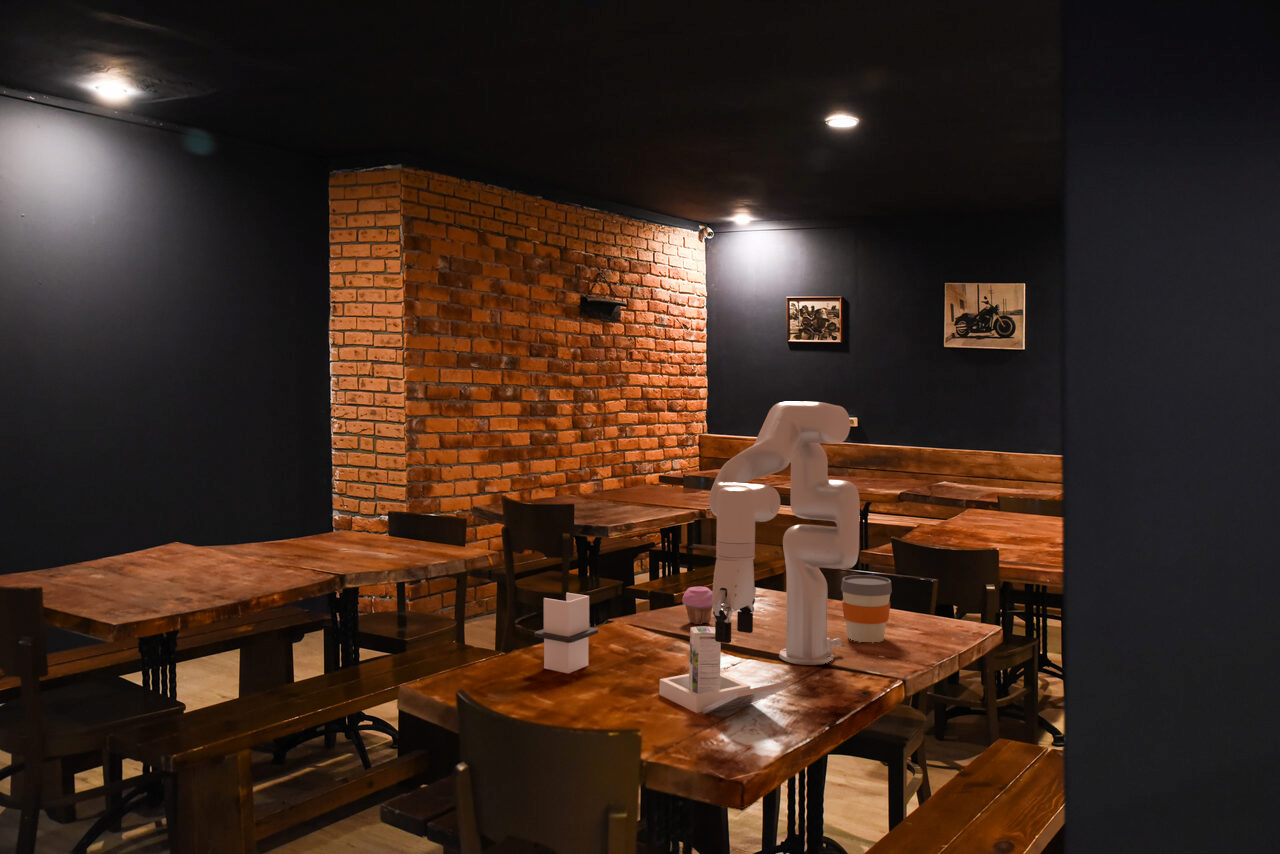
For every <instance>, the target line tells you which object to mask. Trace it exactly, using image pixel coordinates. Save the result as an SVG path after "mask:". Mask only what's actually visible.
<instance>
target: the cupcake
mask: <svg viewBox="0 0 1280 854" xmlns="http://www.w3.org/2000/svg"><path fill="white" fill-rule="evenodd" d="M712 593H713V590H711V589H710V588H709V587H706V586H690V587H688V588H687V589H686V591H685V592H684V593H683V596H682V599H681V600H682V604H683V605H684V606H685V609H686V612H687V617H688V620H689V622H690V623H691V622H692V623H691V624H693V623H694V624H693V625H696V624H699V625H702V624H701V623H707V624H710V622H711V619H712V610H713V607H712Z"/></svg>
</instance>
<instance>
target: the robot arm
mask: <svg viewBox="0 0 1280 854" xmlns="http://www.w3.org/2000/svg"><path fill="white" fill-rule="evenodd" d="M850 430H851V419H850V415H849V413H848V412H847V410H846V409H845V408H844V407H843V406H841V405H837V404H836V405H835V404H833V403H832V404H831V403H827V402H820V401H791V400H790V401H782V402H777V403H776V404H774V405H772V407H771V408H770V409H769V411H768V413H767V416H766V418H765V420H764V422H763V424H762V427H761V428H760V431H759V433H758V435H757V437H756V439H755V442H754V444H753V445H751V446H749V447H748V448H746V449H744V450H742V451H741V452H739V453H738V454H736V455H735V456H733V457H732V458H730V459H729V460H727V461H726V462H725V463H724V464H723V465H722V466H721V468H720V470H719V472H718V473H717V476H716V477H715V479H714V482H713V484H712V487H711V490H710V493H709V497H708V504H709V510H710V511H711V513H712V514H713V515H714V516H716V544H715V545H716V548H715V549H716V553H715V557H716V560H715V565H714V571H713V582H712V592H713V593H712V610H713V612H712V614H713V619H714V623H715V626H714V627H715V641H717V642H721V643H722V644H723V643H724V644H730V643H731V642H732V622H731V621H730V620H731V618H732V615H733V612H737V617H736V618H737V621H736V622H737V623H736V624H737V628H736V629H737V632H738V633H745V634H752V633H753V632H754V631H753V630H754V611H755V606H754V605H755V602H756V599H755V596H756V593H757V588H756V587H755V567H754V560H755V559H756V557H755V555H756V551H755V550H756V522H762V523H764V522H769V521H771V520H772V519H774V518H775V517H776V516H777V514H778V513H779V511H780V508H781V496H780V493H779V492H778V490H777V489H776V488H775V487H774V486H771V485H769V484H762V483H750V481H753V480H755V479H759V478H764V477H766V476H771V475H774V474H776V473H778V472H782V471H784V470H785V469H786V468H787V467H788V466H789V465H790V493H789V494H790V499H789V500H790V508H791V512H792V514H793V515H794V516H795V517H797V518H800V519H805V520H816V521H817V520H818V521H826V522H827V521H829V522H834V523H835V524H836V526H828V525H819V524H818V525H817V524H796V525H793V526H790V527H788V528H787V530H785V532H784V535H783V537H782V546H783V547H782V548H783V555H784V561H785V569H786V572H785V573H786V600H785V601H786V603H785V604H786V607H785V609H786V613H785V614H786V616H785V619H786V620H785V621H786V622H785V623H786V624H785V628H786V629H785V648H783V649H781V650H780V651H779V655H778V657H779V659H781V660H782V661H784V662H786V663H789V664H794V665H801V666H820V665H825V663H826V664H828V663H827V662H829V661H831V660H832V661H833V660H834V653H833V652H831V649H833V648H837V647H838V648H839V647H841V646H842V645H843V640H842V639H841V638H840V637H836V638H832V639H831V638H830V637H828V588H829V587H828V583H827V579H826V578H825V576H824V574H823V573H822V571H821V570H820V568H829V569H838V570H839V569H841V570H842V569H843V570H848V569H851V568H853V567H854V566H855V565H856V564H857V562H858V558H859V551H860V519H861V518H860V517H861V516H860V514H861V511H860V510H861V508H860V507H861V506H860V505H861V502H860V495H859V494H860V493H859V490H858V488H857V486H856V484H854V483H853V482H851V481H849V480H848V481H847V480H842V479H829V477H828V466H829V465H828V461H829V460H828V456H827V453H826V451H825V450H824V448H823V447H822V445H821V444H831V445H833V444H834V445H835V444H841V443H844V442H845V441H846V439H847V438H848V436H849V434H850ZM737 610H738V611H737ZM725 612H726V613H725ZM832 661H831V662H832ZM829 663H830V662H829Z"/></svg>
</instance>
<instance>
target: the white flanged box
mask: <svg viewBox="0 0 1280 854" xmlns="http://www.w3.org/2000/svg"><path fill="white" fill-rule="evenodd" d="M565 594H566V595H565V600H561V599H560V600H559V599H553V598H547V597H543V629H539V630H537V631H534V637H535V638H540V639H543V649H544V650H543V655H544V656H543V663H544V665H543V668H544V669H546V670H551V671H554V672H560V673H564V674H571V673H572V672H575V671H579V670H580V669H583V668H585V667H588V666H589V637H592V636H594V635H597V634H599V629H598V628H596V627H591V626H590V595H584V594H579V593H578V594H577V593H570V592H566V593H565Z"/></svg>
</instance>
